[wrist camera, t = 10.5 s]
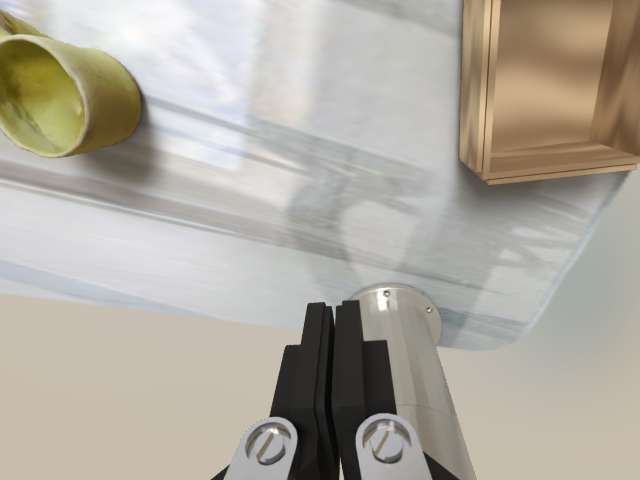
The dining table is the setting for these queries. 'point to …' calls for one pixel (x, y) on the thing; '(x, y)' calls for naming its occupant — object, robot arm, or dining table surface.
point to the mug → (61, 94)
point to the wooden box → (549, 88)
